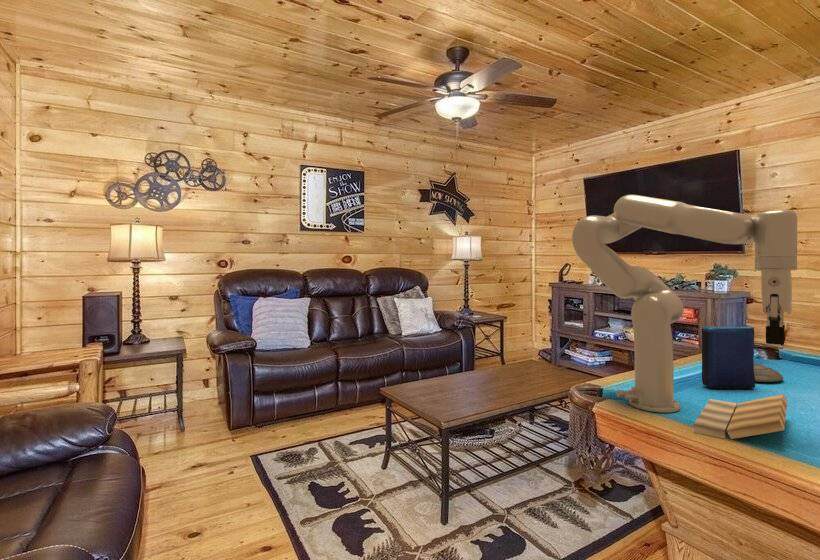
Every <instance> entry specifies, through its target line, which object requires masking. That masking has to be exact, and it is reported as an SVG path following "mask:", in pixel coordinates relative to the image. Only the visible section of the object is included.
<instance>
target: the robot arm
mask: <svg viewBox="0 0 820 560" xmlns="http://www.w3.org/2000/svg"><path fill="white" fill-rule="evenodd" d="M797 214H798V213H796V211H794V210H791V209H776V210H767V211H761V212H759V213H757V214H745V213H740V212H734V211H728V210H722V209H721V210H720V209H715V208H709V207H703V206H702V207H701V206H697V205H693V204H687V203H685V202H682V201H677V200H676V201H675V200H671V199H664V198H659V197H658V198H657V197H651V196H645V195H639V194H626V195H623V196H621V197H620V198H619V199H617V201H616V202H615V203H614V207H613V213H611V214H609V215H607V216H602V215H587V216H584V217H581V219H579V220H578V221H577V222H576V224H575V226H574V227H573V229H572V230H573V231H572V234H571V237H572V238H571V242H572V246H573V250H574V251H575V253H576V255H577V256H578V257H579V259H580V260H581V261H582V262H583V264H585V265H586V266H587V268H589V270H591V271H592V272H593V273H594V274H595V276H596V277H597V278H598V279H599V280H600V281H601V282H602V283H603V284H604V285H605V286H606V287H607V289H609V290H610V291H611V293H613V295H614V296H616V297H617V298H620V299H625V300H626V299H627V300H629V299H633V300H634V302H633V304H632V306H631V311H630V315H631V316H630V318H631V323H632V330H633V341H634V342H633V343H634V346H633V347H634V386H630V387H631V388H630V389H628V390H616V397H617V398H625V400H628V404H630V405H631V407H633V408H636V409H639V410H642V411H646V412H652V413H662V414H663V413H675V412H678V411H680V409H681V404H680V403H679V402H678V401H677V400H675V399H674V396H675V395H674V391H675V390H674V387H675V386H674V385H675V384H674V338H673V334H672V333H673V332H672V328H671V327H672V326H671V324H674V323H675V322H678V320H680V319H681V318H682V316H683V315H684V314H683V313H684V310H685V309H684V305H683V304H684V303H683V302H682V300H681V298H680V297H679V296H678V295H677V294H676V293H675V292H674V291H673V290H672V289H671V288H670V287H669V286H668V285H666V284H665V283H664V282H663V281H662V280H661V279H660V278H659V277H658V276H657V275H655V273H654V272H652V271H651V270H650V269H648V268H645V267H644V266H639V265H631V264H629V263H627V262H626V261H625V260H624V259H623V258H621V257H620V256H619V254H618V253H617V252H616V251H615V250H613V249H612V248H610V246H608V244H612V243H614V242H617V241H619V240H621V239H623V238H624V237H627V236H629V235H631V234H632V233H634V232H636V231H638V230H640V229H642V228H645V229H650V230H652V231H659V232H663V233H667V234H672V235H681V236H686V237H691V238H694V239H700V240H704V241H708V242H709V241H710V242H714V243H720V244H724V245H743V244H744V245H745V244H750V243H751V244H752V243H754V271H758V272H761V273H760V275H761V276H760V277H761V281H760V282H761V283H760V284H761V290H760V291H761V303H762V304H761V306H762V312H763V313H765V314H766V326H765V343H766V344H769V345H779V346H780V345H781V346H783V345H785V339H786V337H785V335H786V333H785V331H786V328H785V327H786V325H785V324H784V321H785V320H784V319H785V318H784V312H785V313H786V314H787V315H790V314H792V310H793V309H792V308H793V307H792V306H793V305H792V304H793V303H792V301H793V300H792V299H793V298H792V297H793V291H792V289H793V283H792V281H793V280H792V271H797V270H798V215H797Z"/></svg>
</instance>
